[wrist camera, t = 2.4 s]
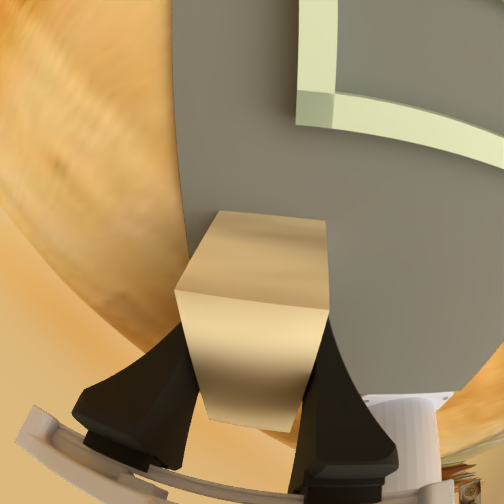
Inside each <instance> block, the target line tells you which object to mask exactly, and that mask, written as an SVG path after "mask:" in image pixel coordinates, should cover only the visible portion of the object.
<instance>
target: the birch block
mask: <svg viewBox="0 0 504 504" xmlns="http://www.w3.org/2000/svg"><path fill="white" fill-rule="evenodd" d="M174 292H175V296H176V301H177V305H178V309H179V314H180V318H181V322H182V326H183V330H184V334H185V338H186V342H187V345H188V349H189V353H190V357H191V360H192V364H193V367H194V371H195V374H196V378H197V381H198V385H199V388H200V391H201V395H202V398H203V401H204V404H205V407H206V411H207V414H208V417H209V420H213V421H218V422H223V423H228V424H234V425H239V426H245V427H251V428H257V429H264V430H272V431H280V432H289V433H290V430H291V428H292V425H293V423H294V420H295V417H296V414H297V412H298V409H299V406H300V403H301V401H302V398H303V395H304V392H305V389H306V386H307V383H308V380H309V377H310V374H311V371H312V368H313V365H314V362H315V359H316V355H317V352H318V349H319V345H320V342H321V339H322V335H323V332H324V328H325V325H326V321H327V318H328V314H329V310H330V305H329V272H328V252H327V235H326V221H323V220H314V219H305V218H295V217H286V216H276V215H265V214H255V213H244V212H232V211H220V210H219V212H218V214H217V215H216V217H215V219H214V220H213V222H212V224H211V225H210V227H209V229H208V230H207V232H206V234H205V236H204V237H203V239H202V241H201V242H200V244H199V246H198V248H197V249H196V251H195V253H194V255H193V256H192V258H191V260H190V262H189V263H188V265H187V267H186V269H185V271H184V272H183V274H182V276H181V278H180V280H179V281H178V283H177V285H176V287H175V289H174Z"/></svg>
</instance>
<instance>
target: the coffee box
mask: <svg viewBox="0 0 504 504" xmlns="http://www.w3.org/2000/svg"><path fill="white" fill-rule="evenodd" d="M459 504H481V487H480V479H477V480H474V481H472V482H469V483H466V484H463V485H460V486H459Z"/></svg>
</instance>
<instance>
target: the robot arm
mask: <svg viewBox="0 0 504 504" xmlns="http://www.w3.org/2000/svg"><path fill="white" fill-rule="evenodd" d="M199 390H200V388H199V385H198V381H197V378H196V374H195V371H194V367H193V364H192V360H191V357H190V353H189V349H188V345H187V342H186V338H185V334H184V330H183V326H182V322H180V323H179V324H178V325H177V326H176V327H175V328H174V329H173V330H172V331H171V332H170V333H169V334H168V335H167V336H166V337H165V338H164V339H163V340H161V341H160V342H159V343H158V344H157V345H156V346H155V347H154V348H152V349H151V350H150V351H149V352H147V353H146V354H145V355H144V356H142V357H141V358H139V359H138V360H137V361H135V362H134V363H133V364H131V365H129V366H128V367H126V368H125V369H123V370H122V371H120V372H118V373H116V374H115V375H113V376H111V377H110V378H108V379H106V380H104V381H102V382H99V383H97V384H95V385H93V386H91V387H89V388H86V389H84V390H83V392H82V393H81V395H80V397H79V399H78V401H77V403H76V405H75V406H74V408H73V410H72V415H73V417H74V418H75V419H76V420H77V421H78V422H80V423H81V424H82V425H83V426H84V427H85V428H87V429H88V432H87V434H86V436H83V435H81V434H79V433H77V432H75V431H74V430H72V429H70V428H68V427H66V426H64V425H63V424H61V423H59V421H58V420H57V419H55V418H54V417H53V416H51V415H50V414H48V413H47V412H45V411H44V410H42V409H41V408H39V407H37V406H36V405H33V407H32V409H31V411H30V413H29V415H28V416H27V418H26V420H25V422H24V424H23V426H22V428H21V430H20V432H19V434H18V436H17V438H16V441H15V443H16V444H17V445H19V446H20V447H21V448H22V449H23V450H25V451H26V452H27V453H29V454H30V455H31V456H33V457H34V458H35V459H37V460H38V461H39V462H40V463H42V464H43V465H44V466H46V467H47V468H48V469H50V470H51V471H53V472H54V473H56V474H57V475H58V476H60V477H61V478H63V479H64V480H66V481H67V482H69V483H70V484H72V485H73V486H75V487H76V488H78V489H80V490H81V491H83V492H85V493H86V494H88V495H90V496H91V497H93V498H95V499H97V500H98V501H100V502H102V503H104V504H177V503H174V502H171V501H167V496H168V491H166V490H163V489H161V488H159V487H157V486H155V485H154V484H151V483H148V482H146V481H143V480H141V479H139V478H136V477H135V476H134V474H133V473H135V474H137V475H140V476H143V477H145V478H148V479H151V480H153V481H157V482H159V483H162V484H165V485H168V486H171V487H175V488H178V489H182V490H185V491H188V492H192V493H196V494H200V495H204V496H208V497H212V498H217V499H222V500H226V501H232V502H237V503H243V504H454V480H453V479H450V480H445V481H441V460H440V447H439V437H438V428H437V420H436V411H437V410H438V409H439V408H440V407H441V406H442V405H443V404H444V403H445V402H446V401H447V400H448V399H449V398H450V397H451V396H452V395H453V394H454V391H448V392H435V393H416V394H361V395H360V394H359V392H358V390H357V389H356V387H355V385H354V383H353V381H352V379H351V377H350V375H349V373H348V371H347V368H346V366H345V364H344V361H343V359H342V357H341V354H340V351H339V349H338V346H337V343H336V340H335V337H334V334H333V331H332V328H331V324H330V320H329V316H328V318H327V321H326V325H325V328H324V332H323V335H322V339H321V342H320V345H319V349H318V352H317V355H316V359H315V362H314V365H313V368H312V371H311V374H310V377H309V380H308V383H307V386H306V389H305V392H304V395H303V398H302V414H301V421H300V428H299V435H298V441H297V447H296V453H295V459H294V464H293V469H292V474H291V479H290V484H289V488H288V494H282V493H273V492H265V491H257V490H251V489H244V488H238V487H233V486H227V485H222V484H218V483H214V482H209V481H205V480H201V479H197V478H193V477H189V476H185V475H182V474H179V473H175V472H172V471H169V470H166V469H171V470H174V471H175V470H178V469H180V468H181V467H182V462H183V457H184V451H185V446H186V441H187V437H188V432H189V427H190V423H191V419H192V415H193V411H194V407H195V404H196V400H197V396H198V393H199ZM163 468H165V469H163Z"/></svg>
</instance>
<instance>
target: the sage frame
mask: <svg viewBox="0 0 504 504" xmlns="http://www.w3.org/2000/svg"><path fill="white" fill-rule="evenodd" d="M500 1H502V2H503V3H504V0H500ZM337 31H338V0H299V45H298V79H297V104H296V124H295V125H304V126H314V127H323V128H331V129H339V130H346V131H353V132H360V133H366V134H372V135H377V136H383V137H388V138H393V139H398V140H403V141H408V142H412V143H417V144H421V145H425V146H429V147H433V148H437V149H441V150H445V151H449V152H452V153H456V154H459V155H463V156H466V157H469V158H472V159H476V160H479V161H482V162H485V163H488V164H491V165H494V166H496V167H499V168H502V169H504V136H502V135H500V134H497V133H495V132H492V131H490V130H487V129H485V128H482V127H479V126H477V125H474V124H471V123H468V122H465V121H463V120H460V119H457V118H453V117H450V116H447V115H444V114H441V113H437V112H434V111H430V110H427V109H423V108H419V107H415V106H411V105H407V104H403V103H398V102H394V101H389V100H384V99H379V98H374V97H369V96H363V95H357V94H351V93H344V92H336V91H335V81H336V61H337Z"/></svg>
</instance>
